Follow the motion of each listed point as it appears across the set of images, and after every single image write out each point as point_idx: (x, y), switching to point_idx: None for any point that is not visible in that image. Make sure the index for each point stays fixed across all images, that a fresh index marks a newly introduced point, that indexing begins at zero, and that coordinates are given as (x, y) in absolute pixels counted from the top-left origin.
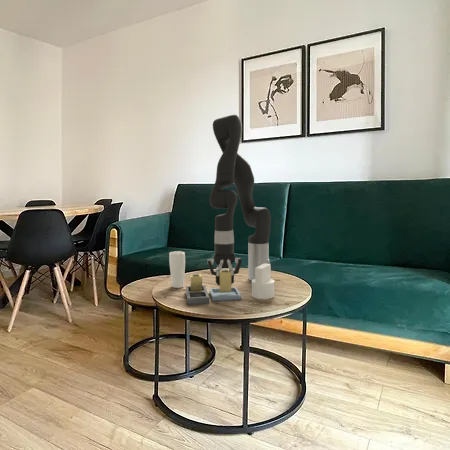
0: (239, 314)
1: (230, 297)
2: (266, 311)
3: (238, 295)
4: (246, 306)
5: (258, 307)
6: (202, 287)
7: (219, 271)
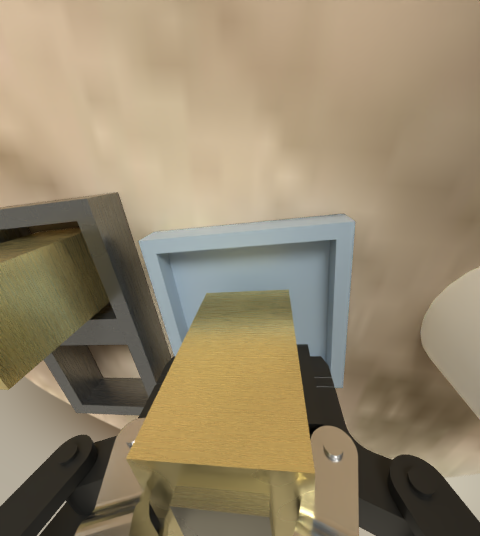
0: None
1: None
2: None
3: None
4: None
5: (385, 448)
6: (81, 219)
7: (159, 533)
